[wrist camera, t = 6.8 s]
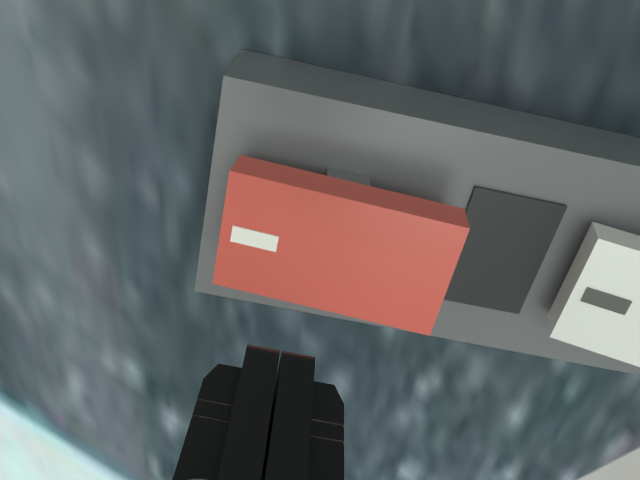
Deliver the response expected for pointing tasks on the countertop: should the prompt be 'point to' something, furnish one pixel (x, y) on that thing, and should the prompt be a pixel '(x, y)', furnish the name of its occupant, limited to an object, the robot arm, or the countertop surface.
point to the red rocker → (337, 244)
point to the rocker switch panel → (438, 186)
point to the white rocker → (601, 296)
